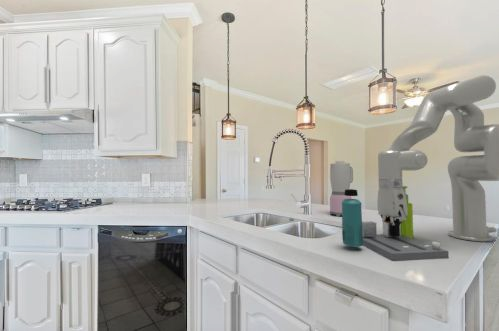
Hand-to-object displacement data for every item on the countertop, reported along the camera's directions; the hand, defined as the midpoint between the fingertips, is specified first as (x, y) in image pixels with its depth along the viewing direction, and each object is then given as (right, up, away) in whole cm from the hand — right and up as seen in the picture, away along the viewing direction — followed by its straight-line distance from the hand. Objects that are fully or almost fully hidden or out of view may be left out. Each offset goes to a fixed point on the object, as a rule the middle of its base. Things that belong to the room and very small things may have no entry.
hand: (391, 234), depth 85 cm
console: (-2, -3, -6) cm, 7 cm away
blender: (+4, -5, +55) cm, 55 cm away
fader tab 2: (0, 0, 0) cm, 0 cm away
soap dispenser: (+9, -3, +8) cm, 13 cm away
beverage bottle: (-17, -3, -6) cm, 18 cm away
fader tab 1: (-9, -1, 0) cm, 9 cm away
